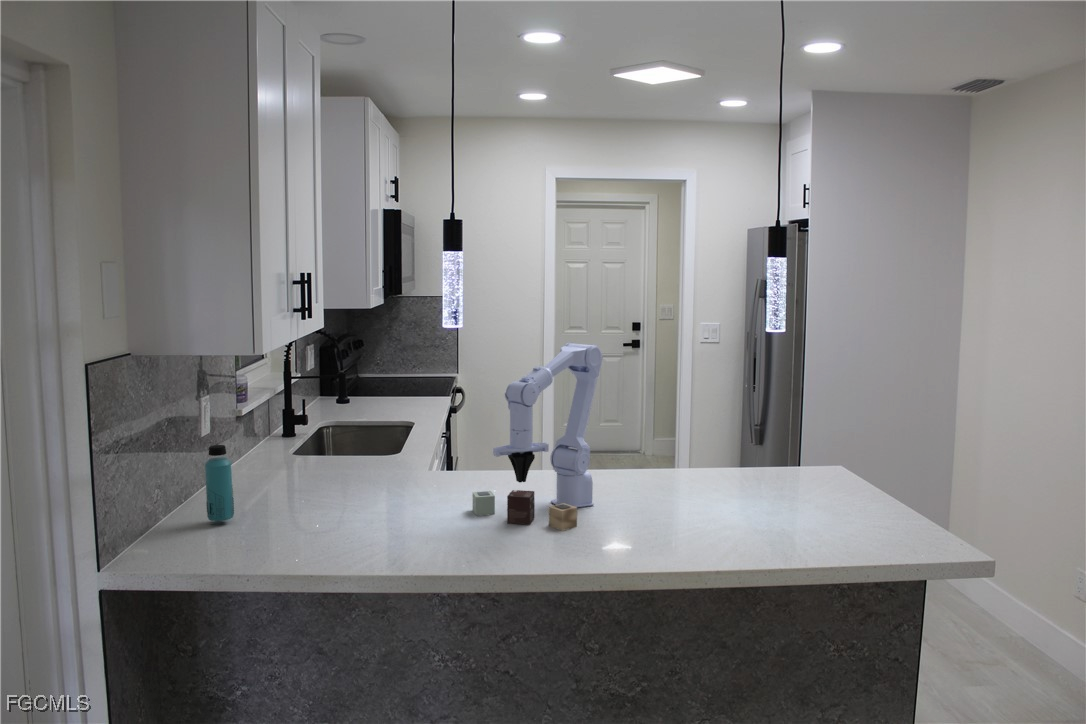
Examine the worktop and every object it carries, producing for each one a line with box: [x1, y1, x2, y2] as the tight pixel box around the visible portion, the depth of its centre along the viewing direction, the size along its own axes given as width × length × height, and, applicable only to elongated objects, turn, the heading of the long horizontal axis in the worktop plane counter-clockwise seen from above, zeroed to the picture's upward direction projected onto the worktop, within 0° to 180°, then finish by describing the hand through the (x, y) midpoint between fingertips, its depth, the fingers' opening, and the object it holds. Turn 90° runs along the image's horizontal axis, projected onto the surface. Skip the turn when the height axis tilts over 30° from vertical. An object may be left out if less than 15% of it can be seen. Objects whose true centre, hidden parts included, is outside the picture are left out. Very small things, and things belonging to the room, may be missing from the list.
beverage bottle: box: [204, 444, 235, 522], centre depth 215 cm, size 6×7×20 cm
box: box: [506, 489, 536, 526], centre depth 219 cm, size 6×6×7 cm
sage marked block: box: [472, 490, 496, 516], centre depth 226 cm, size 5×5×5 cm
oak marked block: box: [548, 503, 578, 531], centre depth 215 cm, size 5×5×5 cm
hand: (521, 481), depth 218 cm, fingers closed
